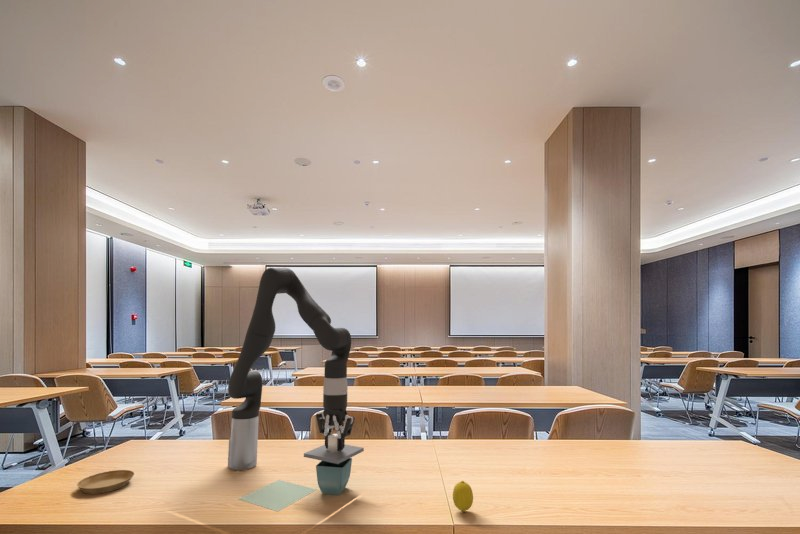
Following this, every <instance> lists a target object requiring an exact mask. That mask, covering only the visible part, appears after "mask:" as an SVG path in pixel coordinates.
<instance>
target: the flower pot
mask: <svg viewBox="0 0 800 534" xmlns="http://www.w3.org/2000/svg"><path fill="white" fill-rule="evenodd" d="M352 462H353V458H352V457H351V458H349V459H347V460H345V461H343V462H341V463H339V464H335V463H330V462H326V461H321V460H320V461H319V463H317V464H316V465H315V471H316V480H317V485H318V488H319V490H320V492H321V493H322V494H324V495H336V496H340V495H341V494H342V492H344V490H345V488H346V486H347V485H348V483H349V481H350V480H349V479H350V476H351V470H352V464H353V463H352Z"/></svg>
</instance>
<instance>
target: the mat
mask: <svg viewBox="0 0 800 534" xmlns="http://www.w3.org/2000/svg"><path fill="white" fill-rule="evenodd" d="M317 490H318V489H317V488H313V487H308V486H305V485H300V484H296V483H293V482H289V481H287V480H286V481H285V480H282V479H277V480H275V481H273V482H271V483H268V484H267V485H265V486H263V487H260V488H258V489H256V490H254V491H252V492H249V493H248V494H246V495H243V496H241V497H239V498H238V500H239V501H242V502H246V503H250V504H253V505H256V506H259V507H262V508H265V509H269V510H272V511H275V512H280V511H281V510H283V509H285V508H287V507H288V506H290V505H292V504H294V503H295V502H297V501H299V500H301V499H303V498H305V497H307V496H308V495H311V493H313V492H316V491H317Z"/></svg>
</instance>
